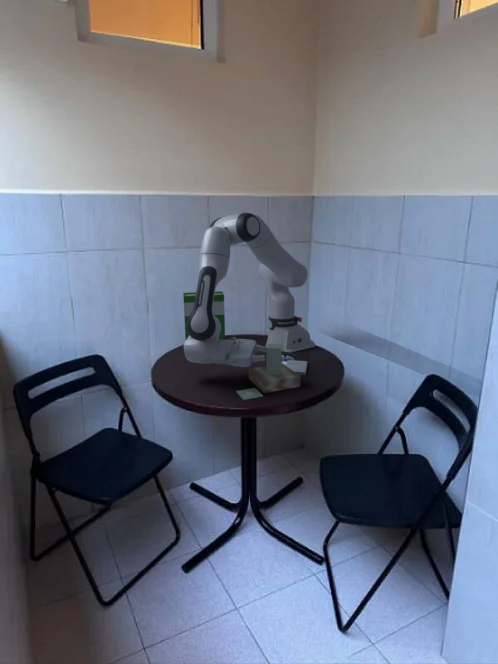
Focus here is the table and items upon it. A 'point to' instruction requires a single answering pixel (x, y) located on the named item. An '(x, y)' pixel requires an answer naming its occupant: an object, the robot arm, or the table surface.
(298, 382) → the birch base block
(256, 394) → the tile
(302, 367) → the external hard drive
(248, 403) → the table surface
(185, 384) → the table surface
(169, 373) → the table surface
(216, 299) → the hardback book
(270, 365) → the sage block
